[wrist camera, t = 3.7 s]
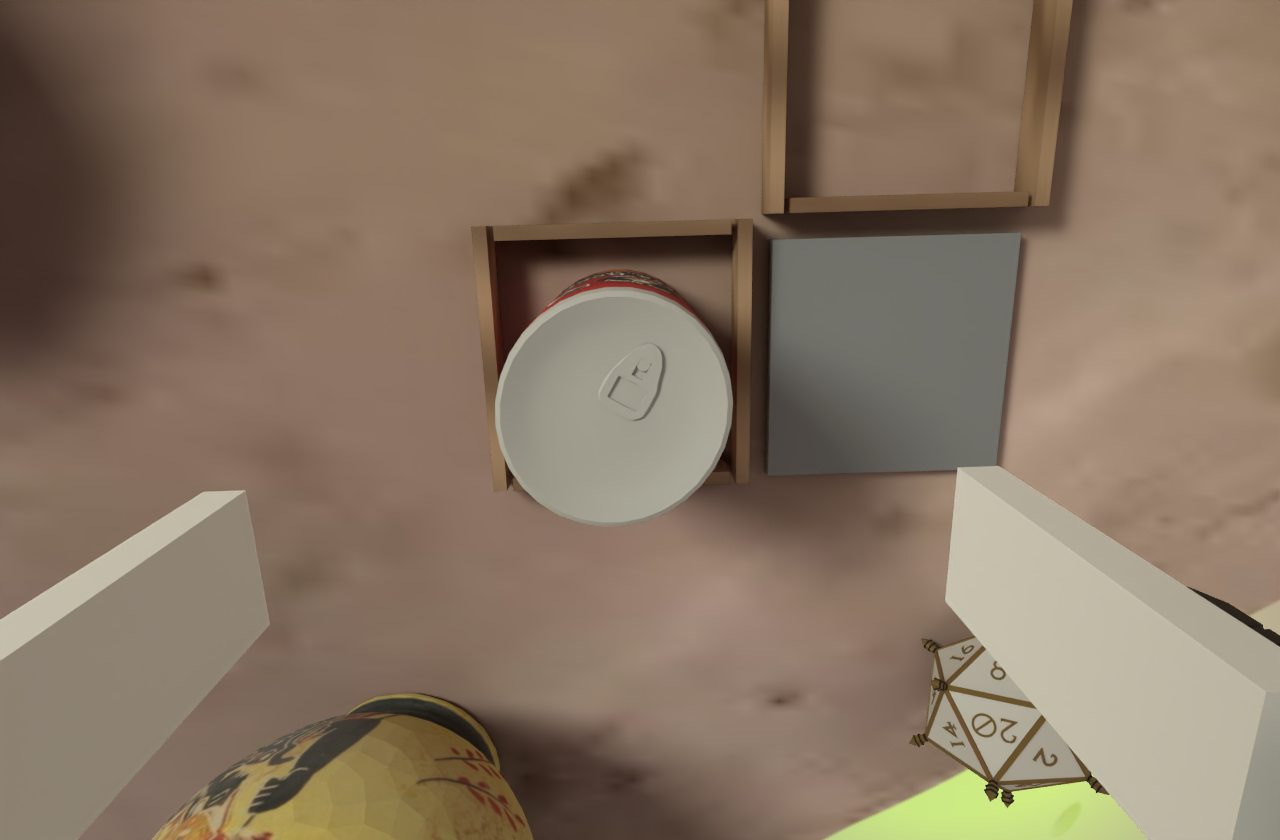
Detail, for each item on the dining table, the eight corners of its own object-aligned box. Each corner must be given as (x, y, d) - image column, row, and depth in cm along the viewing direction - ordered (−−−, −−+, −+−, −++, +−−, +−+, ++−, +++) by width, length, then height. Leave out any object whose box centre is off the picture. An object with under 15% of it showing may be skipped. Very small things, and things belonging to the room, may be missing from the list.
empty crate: (766, -92, 29) (775, -113, 27) (1059, -100, 29) (1086, -120, 27) (761, 214, 32) (769, 213, 30) (1025, 206, 32) (1048, 205, 30)
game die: (917, 649, 42) (872, 799, 35) (949, 549, 37) (902, 701, 30) (1087, 715, 38) (1073, 898, 31) (1147, 614, 33) (1146, 803, 27)
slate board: (770, 239, 32) (772, 239, 32) (1014, 232, 32) (1021, 232, 32) (765, 471, 35) (767, 475, 34) (989, 464, 35) (995, 468, 35)
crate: (479, 226, 32) (471, 226, 30) (745, 219, 32) (752, 218, 30) (500, 478, 35) (493, 491, 33) (743, 470, 35) (749, 483, 33)
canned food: (719, 289, 33) (765, 320, 22) (675, 452, 35) (697, 552, 24) (555, 248, 32) (520, 259, 21) (519, 416, 34) (472, 502, 23)
